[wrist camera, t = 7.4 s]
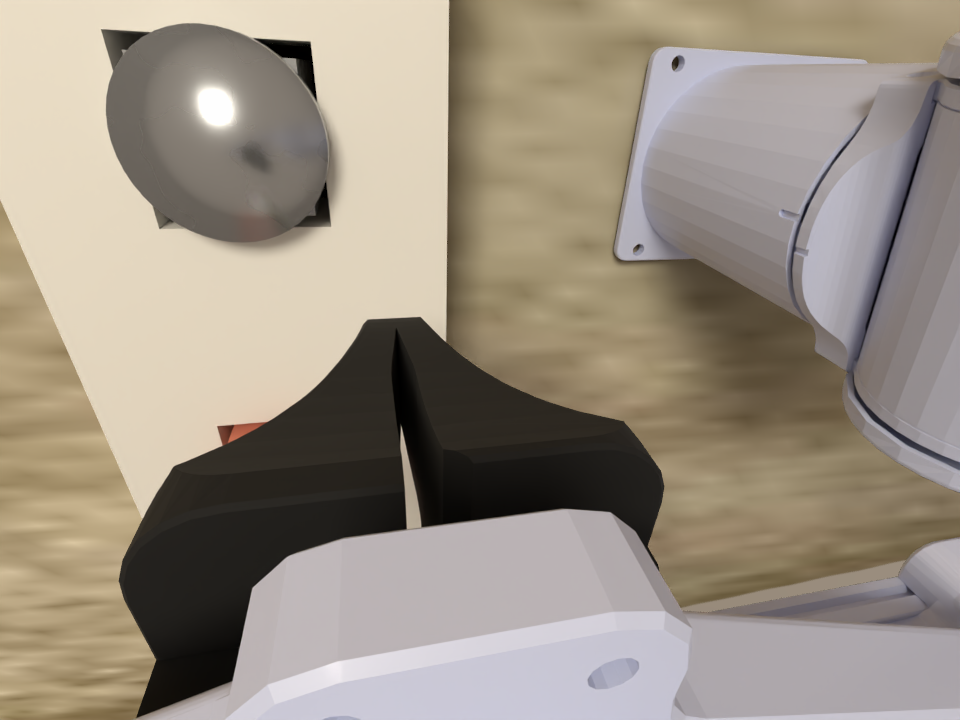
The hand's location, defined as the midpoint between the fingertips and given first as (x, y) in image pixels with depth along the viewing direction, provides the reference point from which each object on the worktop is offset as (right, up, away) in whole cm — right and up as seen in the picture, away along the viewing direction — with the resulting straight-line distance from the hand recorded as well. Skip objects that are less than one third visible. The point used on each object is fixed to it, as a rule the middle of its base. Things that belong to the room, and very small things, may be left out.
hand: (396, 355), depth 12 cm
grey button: (-6, +8, +5) cm, 11 cm away
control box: (-6, +3, +8) cm, 10 cm away
